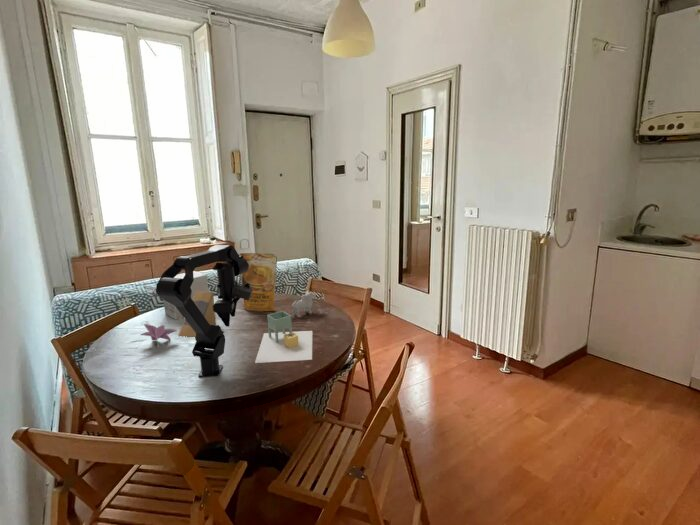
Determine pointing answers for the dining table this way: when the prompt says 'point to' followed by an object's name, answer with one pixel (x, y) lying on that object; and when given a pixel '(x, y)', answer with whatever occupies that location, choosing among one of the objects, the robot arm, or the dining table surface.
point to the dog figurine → (303, 303)
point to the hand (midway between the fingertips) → (230, 321)
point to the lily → (158, 332)
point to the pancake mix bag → (260, 281)
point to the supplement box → (197, 285)
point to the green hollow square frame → (279, 323)
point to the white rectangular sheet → (285, 348)
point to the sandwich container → (206, 307)
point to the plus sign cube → (291, 340)
